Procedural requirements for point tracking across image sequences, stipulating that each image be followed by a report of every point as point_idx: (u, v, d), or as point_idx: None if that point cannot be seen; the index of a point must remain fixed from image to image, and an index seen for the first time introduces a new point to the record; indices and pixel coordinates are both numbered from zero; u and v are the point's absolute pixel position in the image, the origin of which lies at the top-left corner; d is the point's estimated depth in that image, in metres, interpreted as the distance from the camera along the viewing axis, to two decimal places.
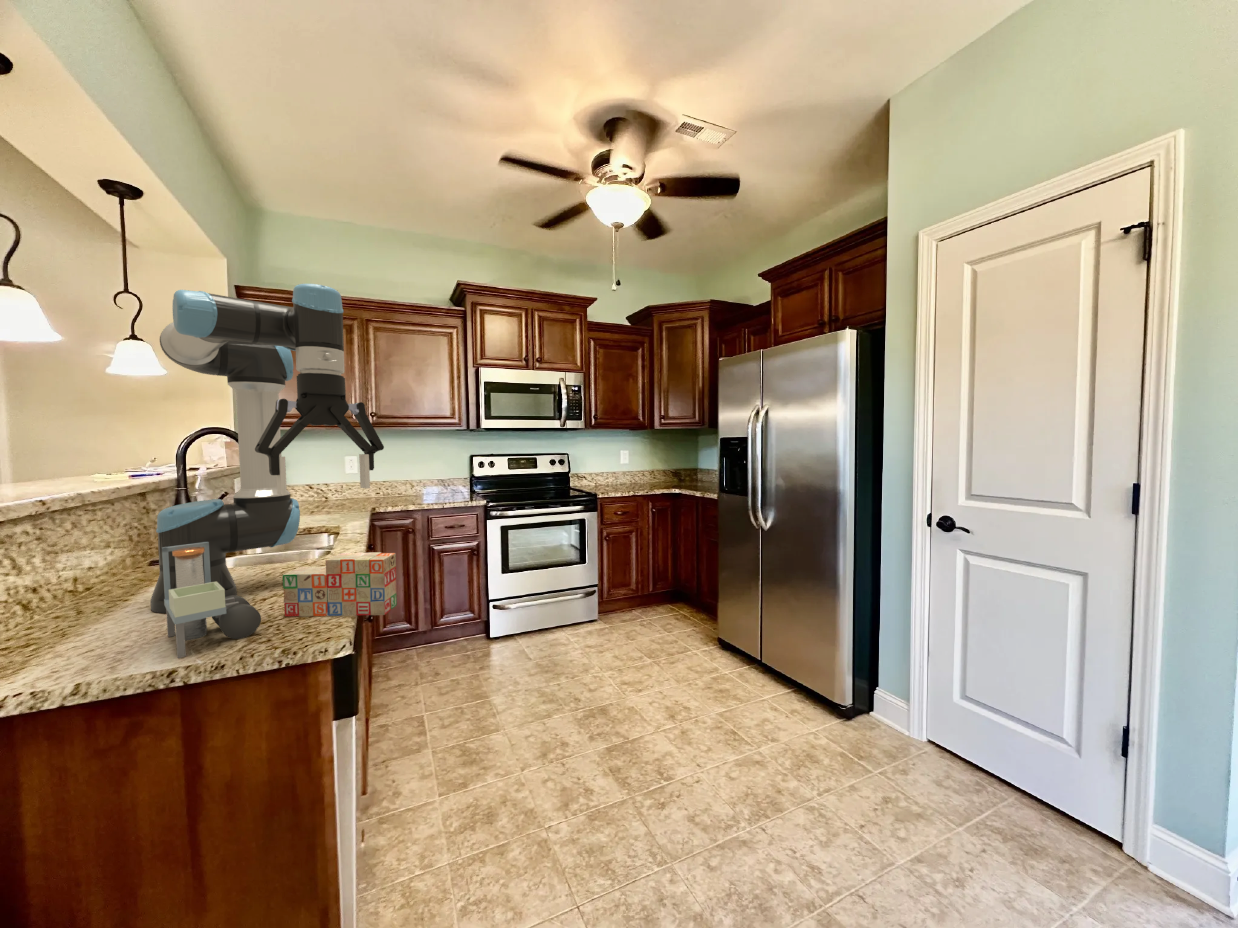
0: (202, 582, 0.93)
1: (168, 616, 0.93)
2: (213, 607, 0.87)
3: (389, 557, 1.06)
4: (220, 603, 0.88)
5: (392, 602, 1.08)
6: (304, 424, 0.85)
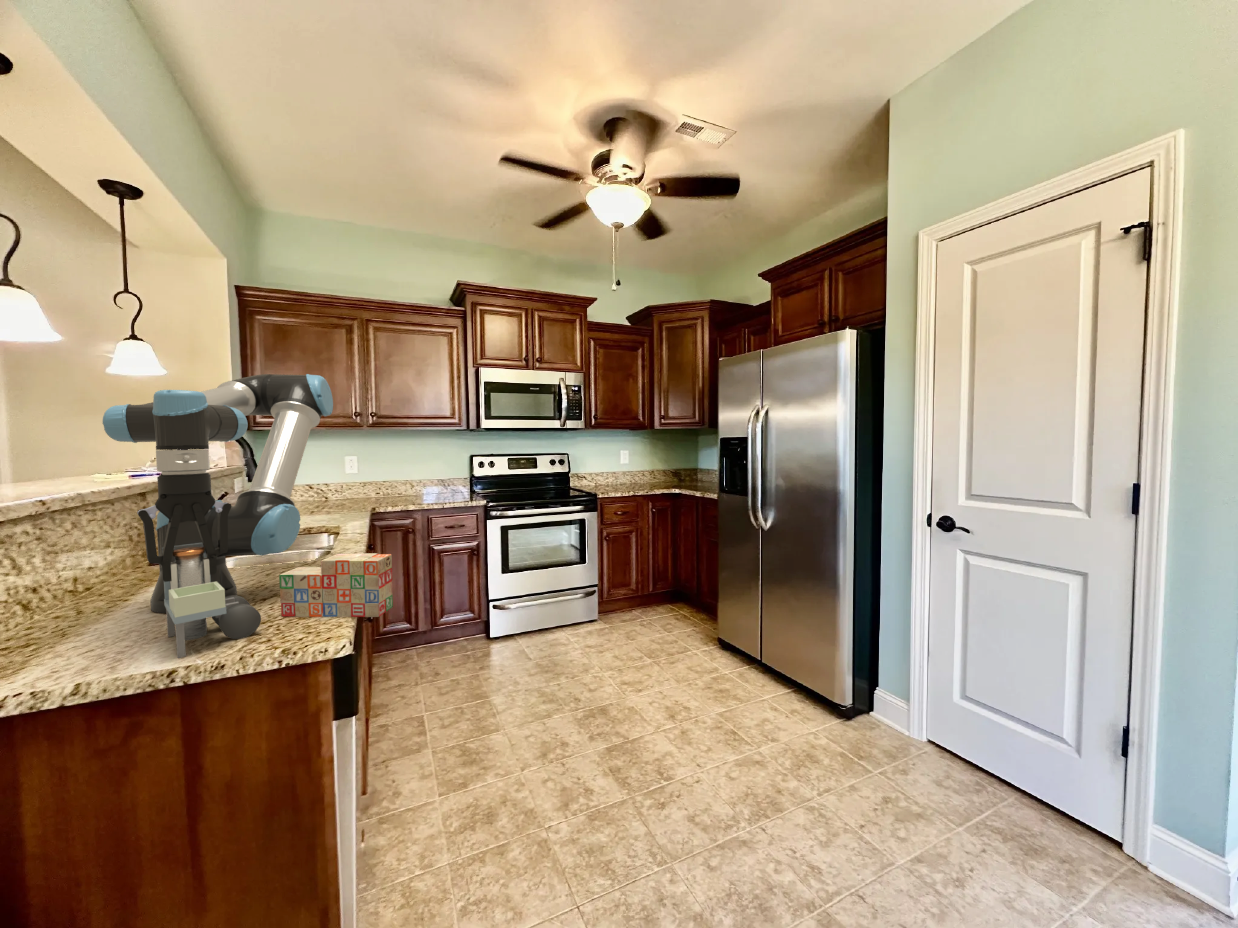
0: (202, 582, 0.93)
1: (168, 616, 0.93)
2: (213, 607, 0.87)
3: (384, 558, 1.05)
4: (220, 603, 0.88)
5: (388, 604, 1.07)
6: (175, 526, 0.90)
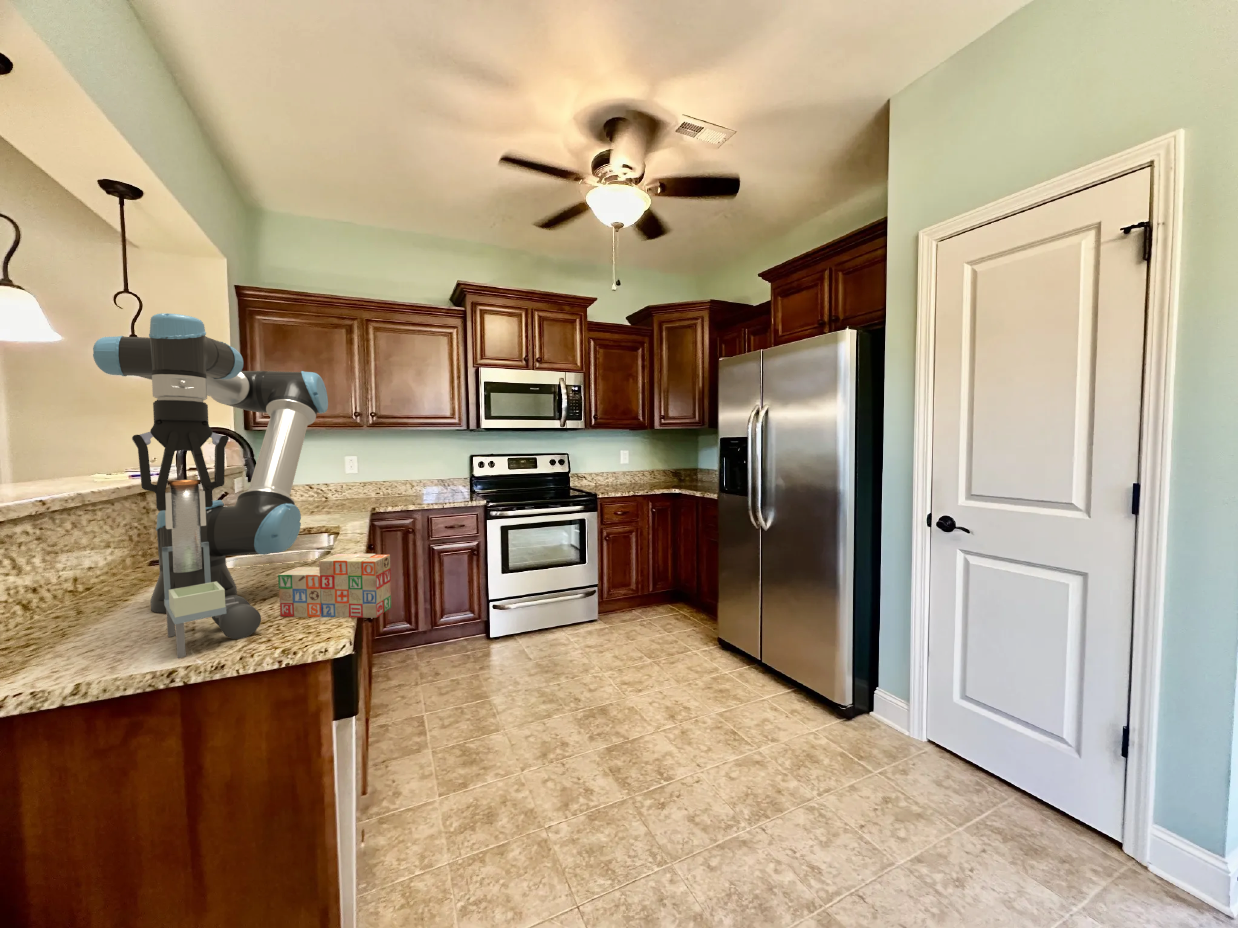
0: (197, 514, 0.91)
1: (168, 616, 0.93)
2: (213, 607, 0.87)
3: (382, 559, 1.05)
4: (220, 603, 0.88)
5: (386, 604, 1.06)
6: (170, 454, 0.88)
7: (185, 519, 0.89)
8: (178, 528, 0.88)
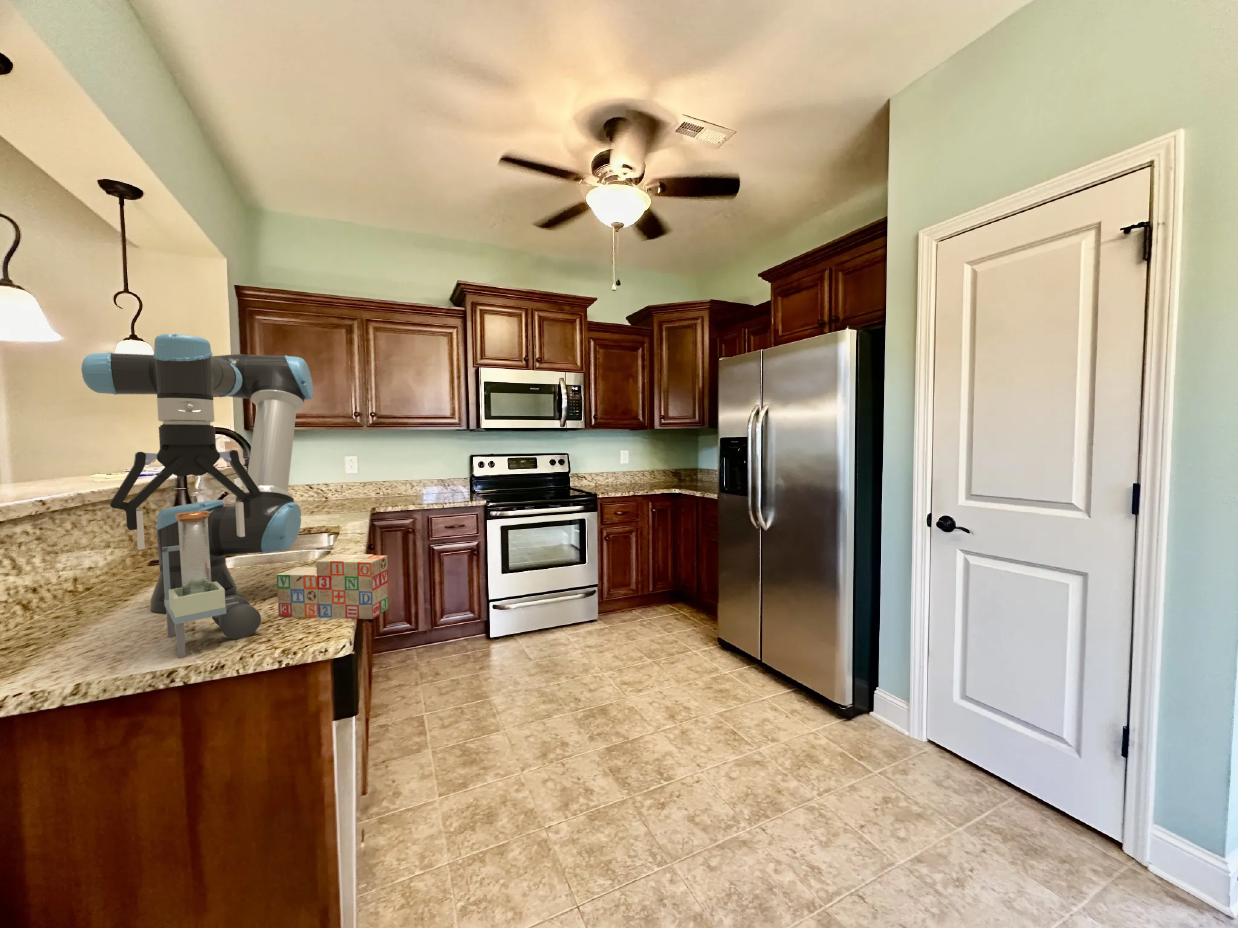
0: (207, 547, 0.88)
1: (168, 616, 0.93)
2: (213, 607, 0.87)
3: (379, 560, 1.04)
4: (220, 603, 0.88)
5: (383, 606, 1.05)
6: (165, 476, 0.83)
7: (194, 553, 0.86)
8: (188, 563, 0.86)
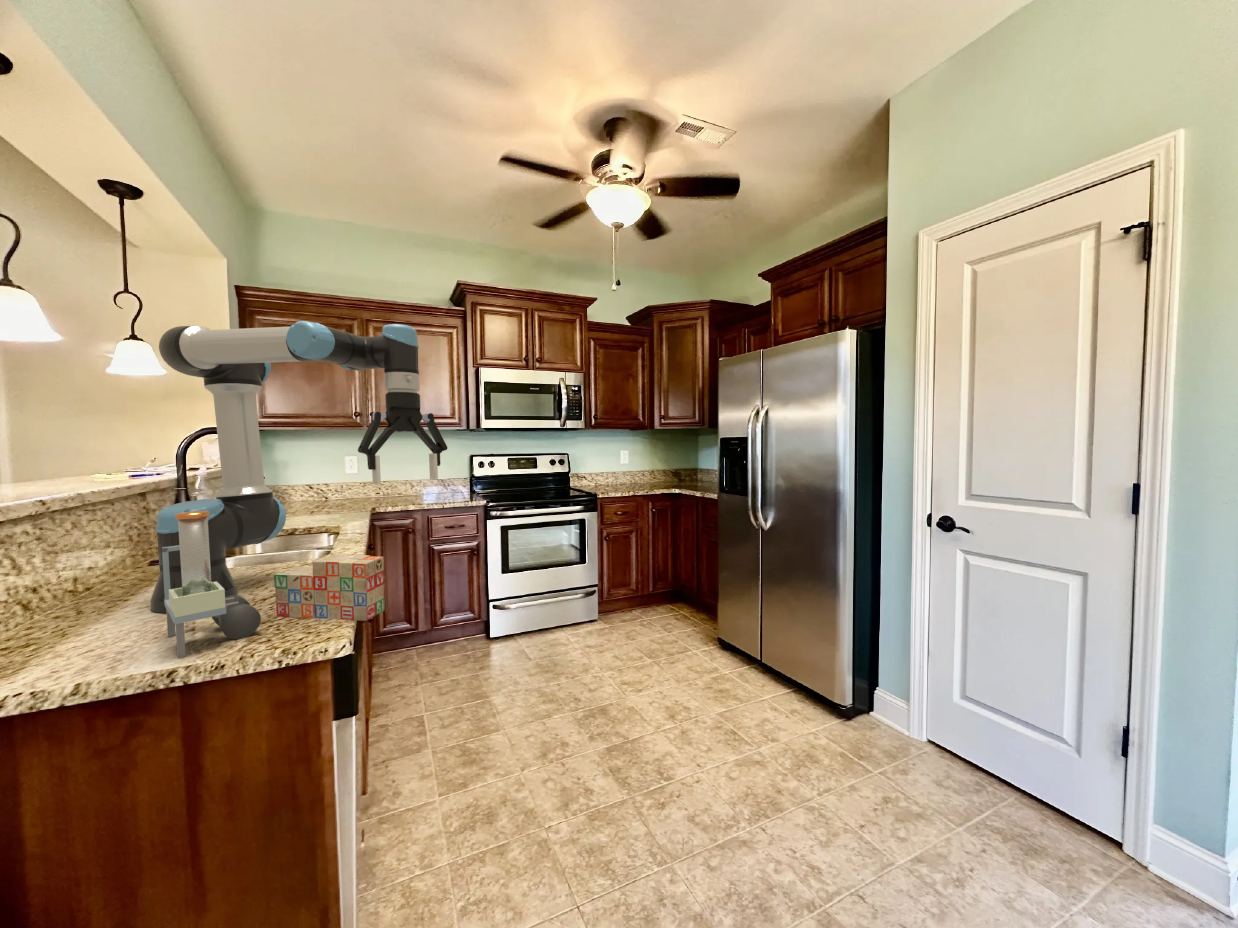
0: (207, 548, 0.88)
1: (168, 616, 0.93)
2: (213, 607, 0.87)
3: (374, 561, 1.03)
4: (220, 603, 0.88)
5: (378, 607, 1.04)
6: (392, 431, 1.12)
7: (194, 553, 0.86)
8: (188, 563, 0.86)
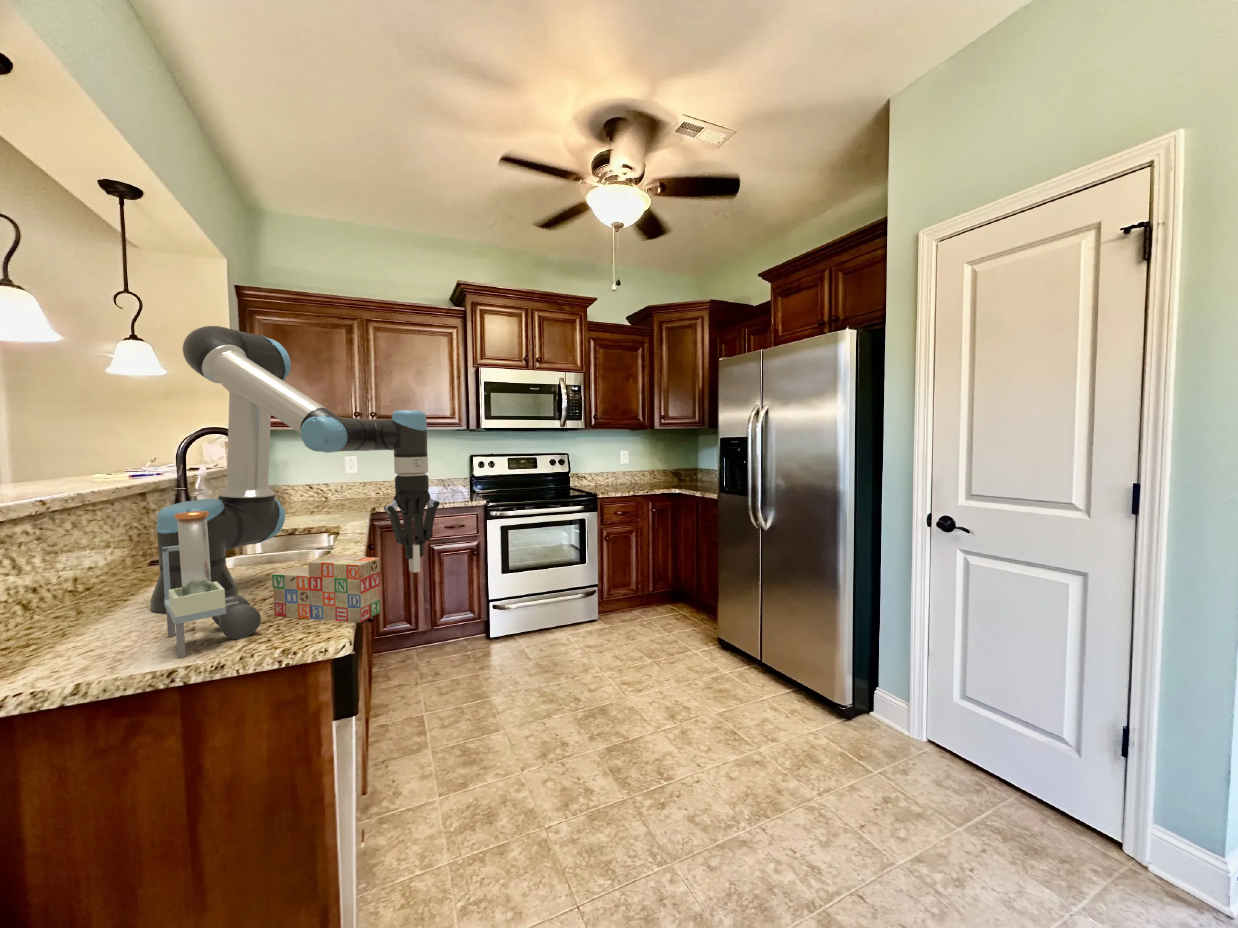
0: (206, 547, 0.88)
1: (168, 616, 0.93)
2: (213, 607, 0.87)
3: (369, 562, 1.02)
4: (220, 603, 0.88)
5: (373, 609, 1.03)
6: (411, 516, 1.16)
7: (194, 553, 0.86)
8: (187, 563, 0.86)
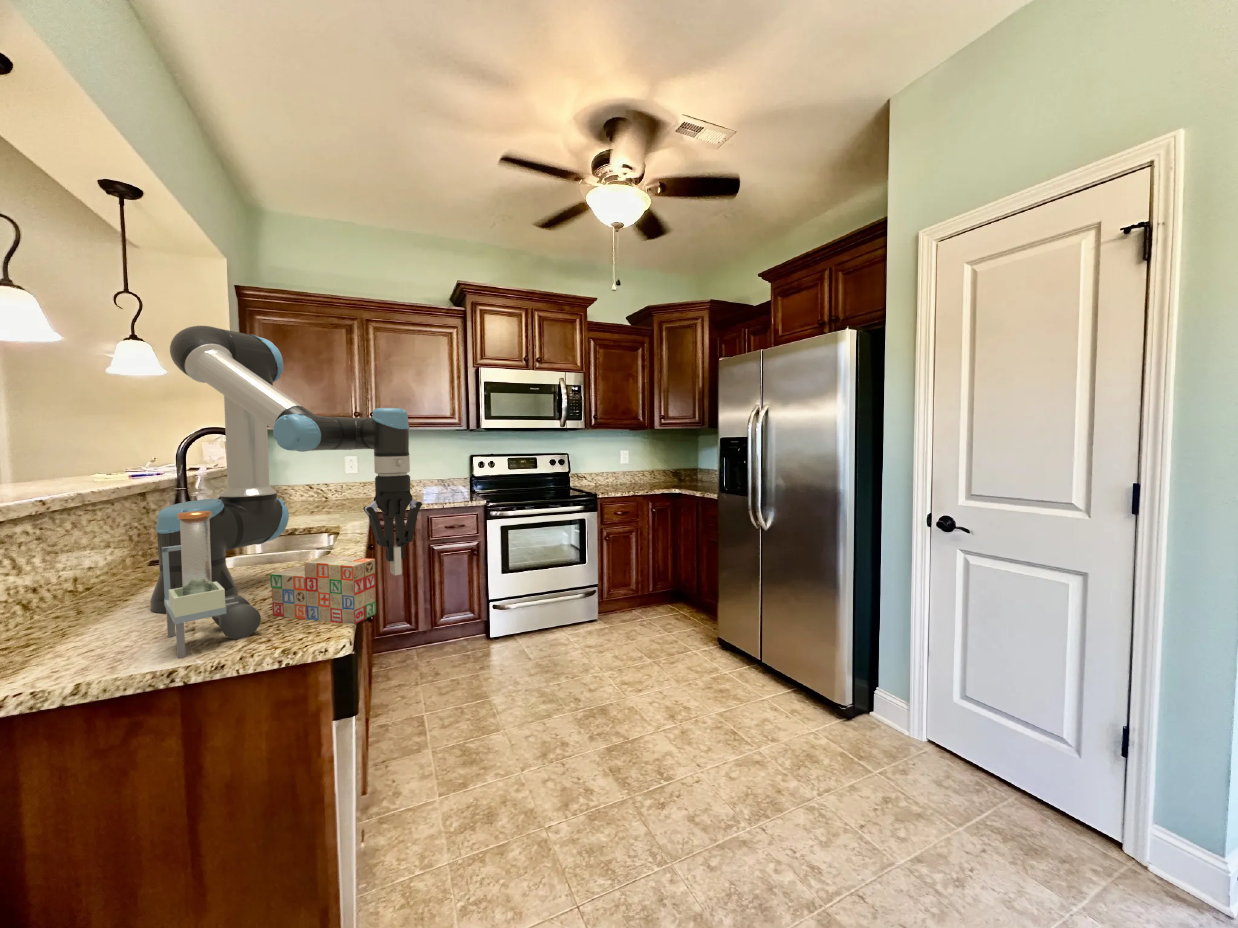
0: (208, 548, 0.88)
1: (168, 616, 0.93)
2: (213, 607, 0.87)
3: (364, 563, 1.01)
4: (220, 603, 0.88)
5: (368, 611, 1.03)
6: (392, 517, 1.12)
7: (195, 553, 0.86)
8: (188, 562, 0.86)
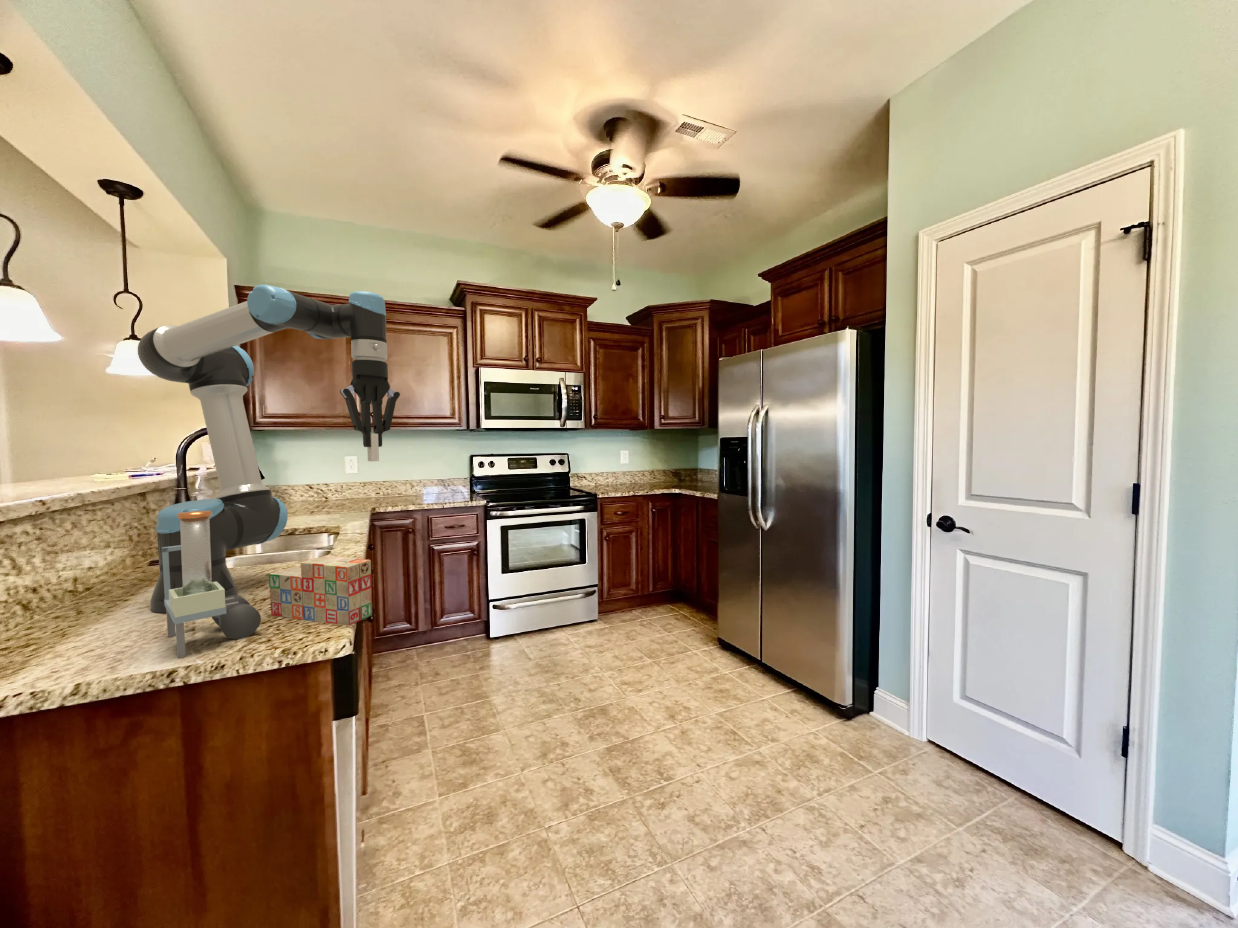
0: (208, 547, 0.88)
1: (168, 616, 0.93)
2: (213, 607, 0.87)
3: (359, 564, 1.00)
4: (220, 603, 0.88)
5: (364, 612, 1.02)
6: (369, 402, 1.13)
7: (195, 553, 0.86)
8: (188, 562, 0.86)
